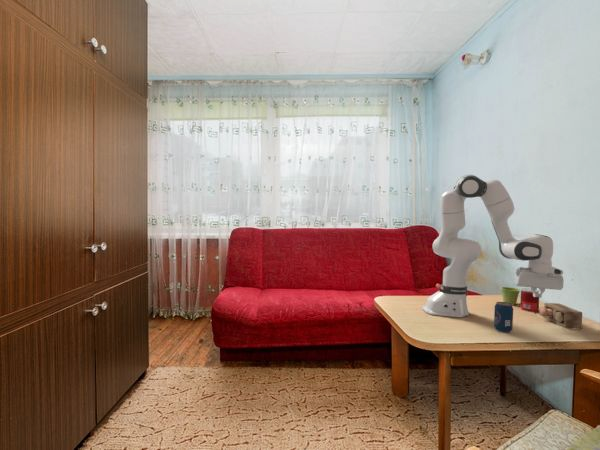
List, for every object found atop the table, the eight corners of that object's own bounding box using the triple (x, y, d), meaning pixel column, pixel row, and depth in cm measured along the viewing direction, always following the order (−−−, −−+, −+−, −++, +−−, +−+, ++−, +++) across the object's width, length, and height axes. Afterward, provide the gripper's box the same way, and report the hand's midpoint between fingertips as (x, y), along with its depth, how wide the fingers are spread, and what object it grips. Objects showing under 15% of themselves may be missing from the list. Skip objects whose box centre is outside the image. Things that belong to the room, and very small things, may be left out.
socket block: (565, 328, 141) (565, 311, 141) (543, 317, 155) (544, 303, 155) (581, 328, 140) (582, 312, 140) (558, 318, 154) (559, 303, 154)
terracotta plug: (545, 317, 150) (545, 308, 149) (539, 314, 154) (539, 306, 154) (564, 318, 149) (564, 309, 149) (557, 315, 153) (558, 306, 153)
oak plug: (561, 323, 142) (562, 313, 142) (554, 319, 147) (555, 310, 147) (581, 324, 142) (581, 314, 141) (573, 320, 146) (574, 311, 146)
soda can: (490, 326, 142) (491, 301, 141) (506, 327, 141) (507, 301, 141) (498, 332, 135) (499, 305, 134) (515, 333, 134) (516, 306, 134)
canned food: (541, 312, 163) (542, 292, 163) (524, 311, 165) (525, 291, 165) (533, 308, 171) (534, 288, 170) (517, 307, 172) (518, 287, 172)
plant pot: (500, 300, 186) (501, 286, 185) (519, 303, 180) (520, 288, 180) (499, 304, 178) (500, 289, 178) (519, 307, 173) (520, 291, 172)
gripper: (520, 267, 146) (518, 296, 147) (567, 271, 145) (564, 300, 145) (512, 265, 153) (510, 293, 153) (557, 269, 151) (554, 297, 151)
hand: (537, 297), depth 149 cm, fingers closed
